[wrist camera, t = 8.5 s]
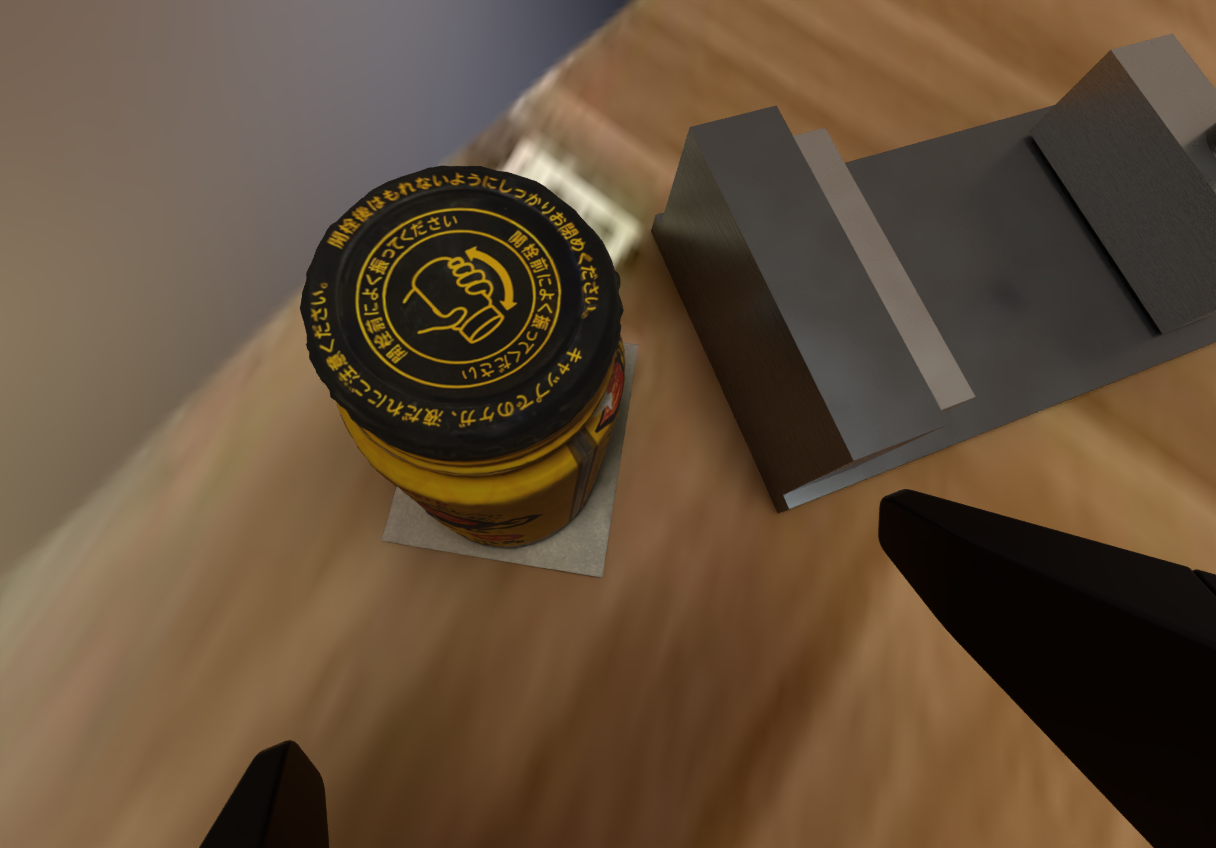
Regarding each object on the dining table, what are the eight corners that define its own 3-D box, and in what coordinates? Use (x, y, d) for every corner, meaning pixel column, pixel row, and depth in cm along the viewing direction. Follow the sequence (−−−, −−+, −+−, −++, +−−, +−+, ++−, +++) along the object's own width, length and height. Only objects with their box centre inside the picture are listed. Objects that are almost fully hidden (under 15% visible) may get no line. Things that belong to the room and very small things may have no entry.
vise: (1083, 109, 29) (1218, -17, 23) (1238, 332, 26) (1436, 253, 20) (651, 230, 24) (683, 114, 19) (778, 513, 21) (862, 478, 16)
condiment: (382, 541, 20) (164, 451, 9) (443, 312, 23) (338, 8, 11) (601, 578, 20) (672, 538, 9) (637, 348, 23) (727, 88, 11)
